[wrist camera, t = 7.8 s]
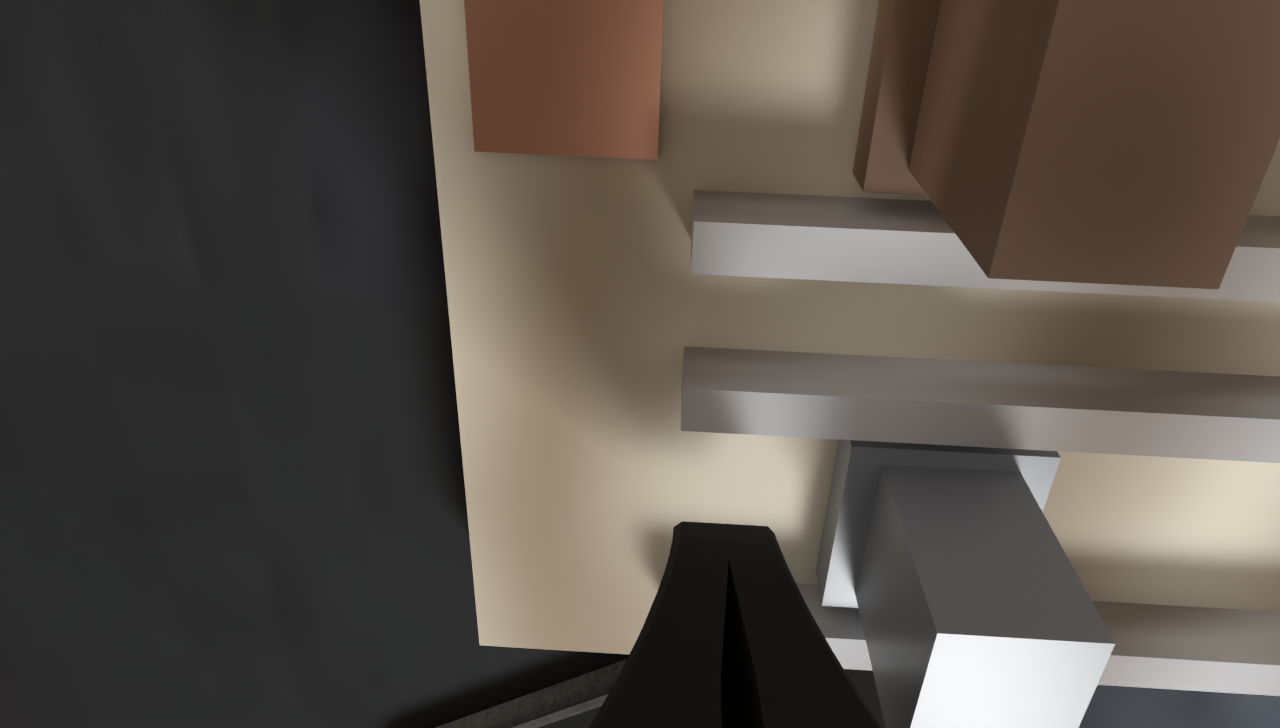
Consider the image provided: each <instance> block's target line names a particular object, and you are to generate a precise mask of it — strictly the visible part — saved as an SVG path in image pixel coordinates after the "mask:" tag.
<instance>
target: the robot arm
mask: <svg viewBox="0 0 1280 728" xmlns="http://www.w3.org/2000/svg"><path fill="white" fill-rule="evenodd" d="M589 728H883V727H882V726H881V724H880V723H879V721H878V720H877V719H876V717H875V716H874V714H873V713H872V711H871V710H870V708H869V707H868V706H867V704H866V703H865V701H864V700H863V698H862V697H861V695H860V694H859V692H858V690H857V689H856V687H855V686H854V684H853V683H852V681H851V680H850V678H849V677H848V675H847V674H846V672H845V670H844V669H843V667H842V666H841V664H840V662H839V661H838V659H837V657H836V656H835V654H834V652H833V651H832V649H831V647H830V646H829V644H828V642H827V640H826V639H825V637H824V635H823V633H822V632H821V630H820V628H819V626H818V624H817V623H816V621H815V619H814V617H813V616H812V614H811V612H810V610H809V608H808V606H807V604H806V603H805V601H804V599H803V597H802V595H801V593H800V591H799V589H798V587H797V585H796V583H795V581H794V579H793V576H792V574H791V572H790V570H789V568H788V566H787V563H786V561H785V559H784V556H783V554H782V552H781V549H780V547H779V544H778V542H777V539H776V536H775V533H774V532H773V531H772V530H771V529H770V528H769V527H768V526H755V525H738V524H720V523H703V522H686V521H682V522H680V523H679V524H677V525H676V526H674V528H673V539H672V544H671V549H670V554H669V558H668V561H667V565H666V568H665V571H664V574H663V577H662V580H661V583H660V586H659V589H658V591H657V594H656V596H655V599H654V601H653V603H652V606H651V608H650V611H649V613H648V616H647V618H646V620H645V623H644V625H643V628H642V630H641V632H640V634H639V636H638V638H637V640H636V642H635V644H634V646H633V648H632V650H631V652H630V654H629V656H628V658H627V660H626V662H625V664H624V666H623V668H622V670H621V672H620V674H619V676H618V678H617V680H616V682H615V683H614V685H613V687H612V689H611V691H610V692H609V694H608V696H607V698H606V699H605V701H604V703H603V705H602V706H601V708H600V710H599V711H598V713H597V715H596V716H595V718H594V719H593V721H592V723H591V724H590V726H589Z"/></svg>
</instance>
